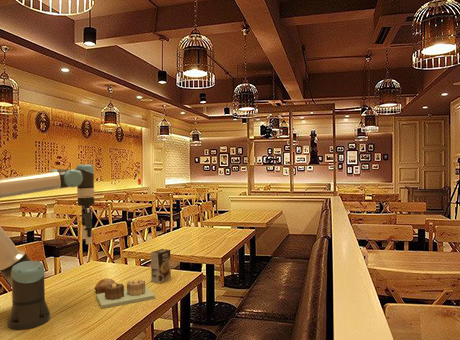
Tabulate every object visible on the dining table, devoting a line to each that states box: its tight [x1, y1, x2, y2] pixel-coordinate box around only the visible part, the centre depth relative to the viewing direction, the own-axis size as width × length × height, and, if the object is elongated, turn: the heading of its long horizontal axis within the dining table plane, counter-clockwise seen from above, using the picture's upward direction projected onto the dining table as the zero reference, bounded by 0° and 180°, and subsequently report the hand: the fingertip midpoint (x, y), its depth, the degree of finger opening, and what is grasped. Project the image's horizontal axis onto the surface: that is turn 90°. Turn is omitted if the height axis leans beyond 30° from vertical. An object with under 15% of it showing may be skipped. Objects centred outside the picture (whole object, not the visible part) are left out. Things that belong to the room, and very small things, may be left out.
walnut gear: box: [105, 282, 125, 300], centre depth 175 cm, size 8×8×5 cm
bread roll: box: [94, 278, 116, 294], centre depth 188 cm, size 10×10×8 cm
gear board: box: [95, 279, 156, 310], centre depth 178 cm, size 24×16×8 cm, turn 118°
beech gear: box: [126, 279, 146, 296], centre depth 180 cm, size 8×8×5 cm
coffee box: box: [150, 248, 172, 284], centre depth 203 cm, size 9×6×16 cm
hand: (87, 241), depth 180 cm, fingers open, 13 cm apart
